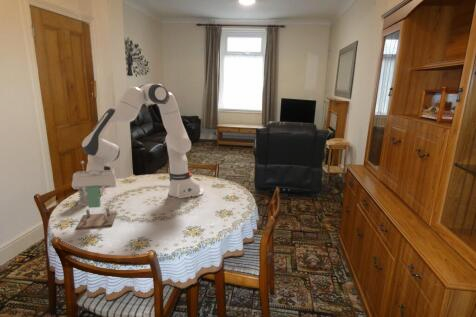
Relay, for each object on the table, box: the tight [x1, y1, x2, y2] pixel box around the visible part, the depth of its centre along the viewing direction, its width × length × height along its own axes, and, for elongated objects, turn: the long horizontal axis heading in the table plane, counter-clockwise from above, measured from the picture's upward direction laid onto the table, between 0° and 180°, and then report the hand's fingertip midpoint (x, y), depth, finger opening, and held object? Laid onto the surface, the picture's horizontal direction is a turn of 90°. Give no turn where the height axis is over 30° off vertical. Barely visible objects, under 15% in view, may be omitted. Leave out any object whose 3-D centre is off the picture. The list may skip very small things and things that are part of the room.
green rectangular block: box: [87, 186, 102, 209], centre depth 143 cm, size 5×3×10 cm, turn 105°
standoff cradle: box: [75, 207, 117, 231], centre depth 146 cm, size 16×14×5 cm
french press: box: [77, 160, 88, 207], centre depth 165 cm, size 10×12×25 cm
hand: (93, 195), depth 142 cm, fingers closed on green rectangular block, 5 cm apart
